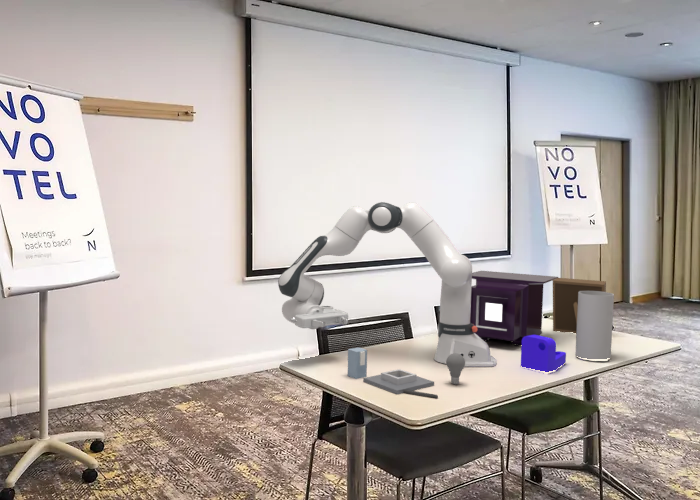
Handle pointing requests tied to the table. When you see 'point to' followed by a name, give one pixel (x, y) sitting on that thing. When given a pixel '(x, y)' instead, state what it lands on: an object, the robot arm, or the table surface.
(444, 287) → the robot arm
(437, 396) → the rod
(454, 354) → the light bulb
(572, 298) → the photo frame
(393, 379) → the board
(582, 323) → the cylinder vase
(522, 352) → the bracket
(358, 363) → the plug block
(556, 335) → the table surface
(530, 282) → the dark purple stove
